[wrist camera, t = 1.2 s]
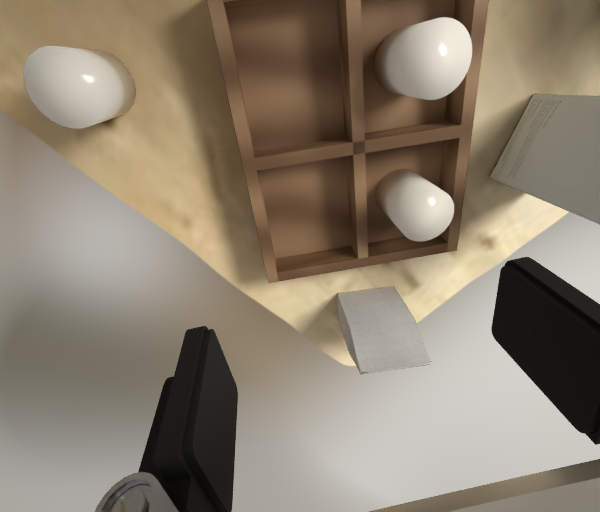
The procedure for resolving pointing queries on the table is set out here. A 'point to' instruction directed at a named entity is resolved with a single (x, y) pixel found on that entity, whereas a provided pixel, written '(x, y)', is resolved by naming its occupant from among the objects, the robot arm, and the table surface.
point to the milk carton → (380, 331)
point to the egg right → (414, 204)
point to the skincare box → (556, 153)
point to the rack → (338, 126)
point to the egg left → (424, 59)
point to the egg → (78, 85)
